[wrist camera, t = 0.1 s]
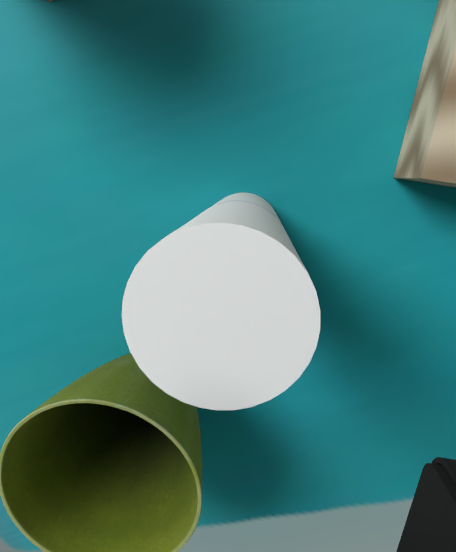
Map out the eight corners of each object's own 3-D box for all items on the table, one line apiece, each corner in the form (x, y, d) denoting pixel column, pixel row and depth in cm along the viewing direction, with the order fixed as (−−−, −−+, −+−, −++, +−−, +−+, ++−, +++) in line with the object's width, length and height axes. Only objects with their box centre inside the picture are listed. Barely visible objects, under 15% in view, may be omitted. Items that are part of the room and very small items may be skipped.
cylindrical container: (287, 202, 37) (346, 250, 13) (269, 272, 39) (290, 429, 15) (215, 185, 37) (139, 200, 13) (200, 255, 39) (108, 385, 15)
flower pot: (153, 459, 45) (100, 605, 30) (62, 371, 43) (-46, 479, 28) (249, 387, 42) (245, 509, 27) (155, 288, 40) (92, 358, 25)
